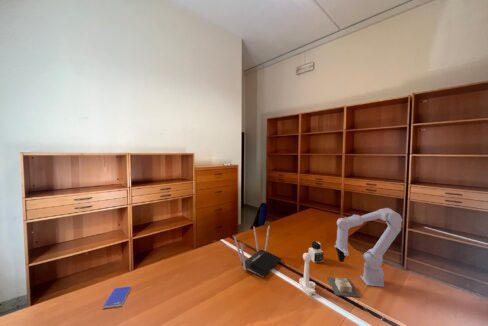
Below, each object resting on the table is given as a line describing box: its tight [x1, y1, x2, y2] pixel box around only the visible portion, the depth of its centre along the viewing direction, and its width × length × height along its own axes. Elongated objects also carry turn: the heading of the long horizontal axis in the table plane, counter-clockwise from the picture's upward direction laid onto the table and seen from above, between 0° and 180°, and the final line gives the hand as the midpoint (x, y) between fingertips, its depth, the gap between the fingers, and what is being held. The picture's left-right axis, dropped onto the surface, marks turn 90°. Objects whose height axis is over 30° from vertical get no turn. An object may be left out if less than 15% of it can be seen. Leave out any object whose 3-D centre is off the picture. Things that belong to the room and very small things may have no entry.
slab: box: [334, 277, 352, 292], centre depth 109 cm, size 6×3×7 cm
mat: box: [327, 277, 361, 298], centre depth 110 cm, size 12×14×1 cm
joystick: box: [298, 252, 316, 297], centre depth 109 cm, size 11×8×20 cm
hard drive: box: [102, 286, 132, 309], centre depth 101 cm, size 2×8×12 cm
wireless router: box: [233, 225, 282, 278], centre depth 132 cm, size 34×23×20 cm
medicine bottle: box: [308, 241, 325, 264], centre depth 137 cm, size 7×7×12 cm
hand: (341, 261), depth 118 cm, fingers closed
